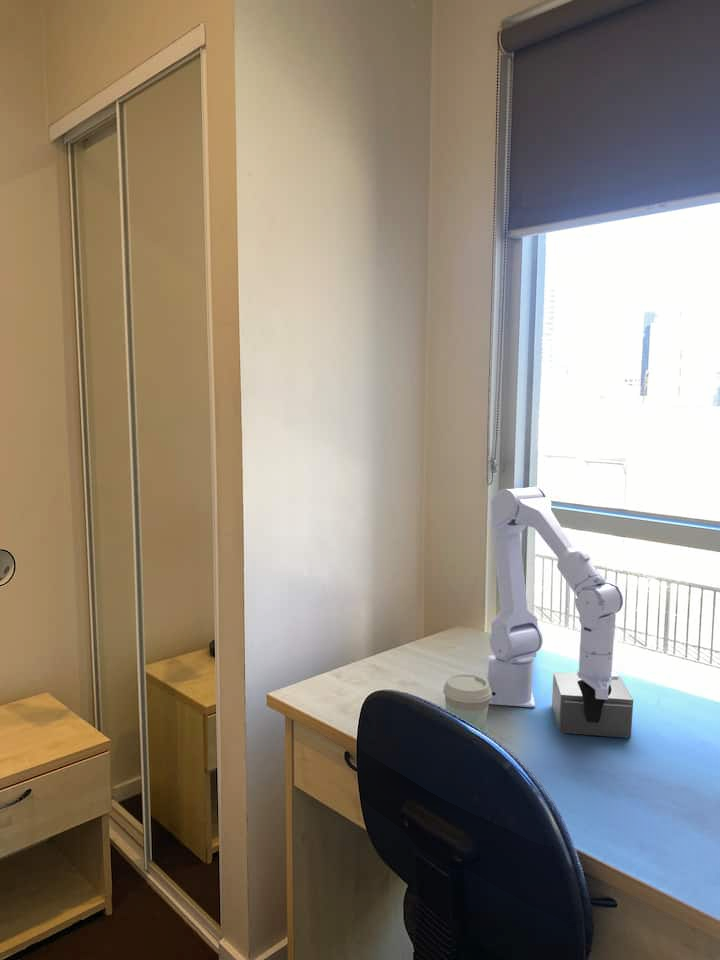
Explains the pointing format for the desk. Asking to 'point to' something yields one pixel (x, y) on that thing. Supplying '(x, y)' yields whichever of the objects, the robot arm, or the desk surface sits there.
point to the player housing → (570, 690)
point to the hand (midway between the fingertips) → (592, 720)
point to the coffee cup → (468, 698)
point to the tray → (610, 724)
